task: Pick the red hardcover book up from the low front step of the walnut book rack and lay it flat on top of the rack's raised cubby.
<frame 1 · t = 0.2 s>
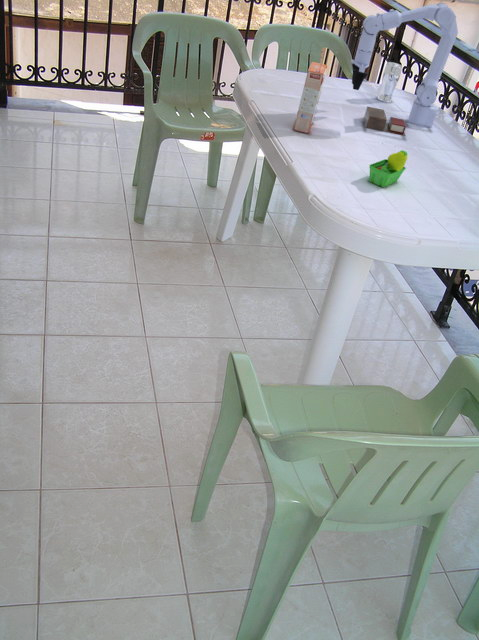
hand: (355, 86, 262), 10 cm above the table, tool pointing down, fingers open, 7 cm apart
red hardcover book: (395, 129, 255), point 1 cm above the table, touching book rack
cracker box: (303, 127, 243), on the table
book rack: (383, 130, 256), on the table
beer glass: (384, 100, 293), on the table
fruit basket: (384, 183, 212), on the table
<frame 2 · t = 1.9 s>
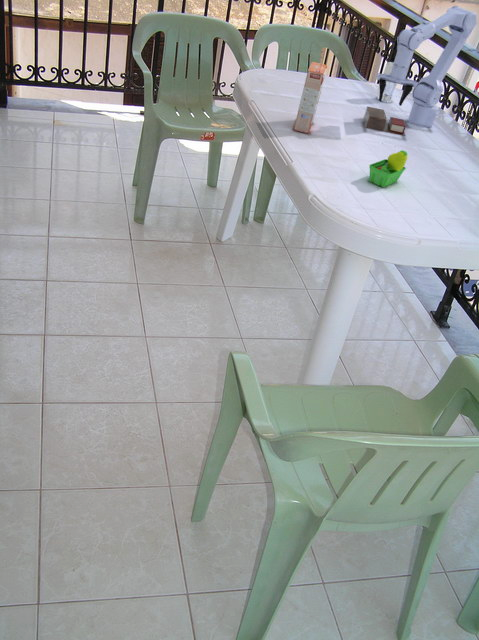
hand: (389, 102, 254), 10 cm above the table, tool pointing down, fingers open, 7 cm apart
nothing on the table moved.
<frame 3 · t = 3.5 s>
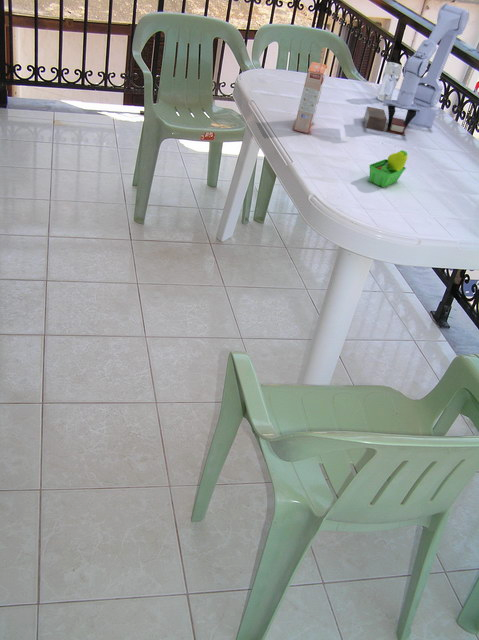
hand: (396, 127, 255), 2 cm above the table, tool pointing down, fingers closed on red hardcover book, 5 cm apart
red hardcover book: (395, 129, 255), point 2 cm above the table, touching book rack, gripper
everything else where it was.
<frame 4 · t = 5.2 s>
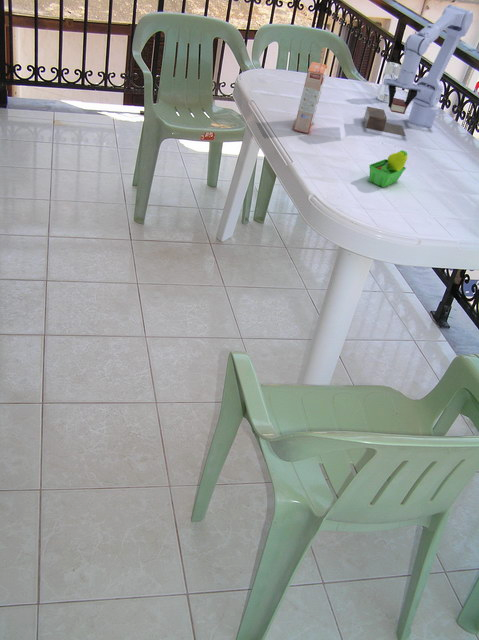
hand: (396, 108, 251), 9 cm above the table, tool pointing down, fingers closed on red hardcover book, 5 cm apart
red hardcover book: (396, 109, 251), point 9 cm above the table, touching gripper
everything else where it was.
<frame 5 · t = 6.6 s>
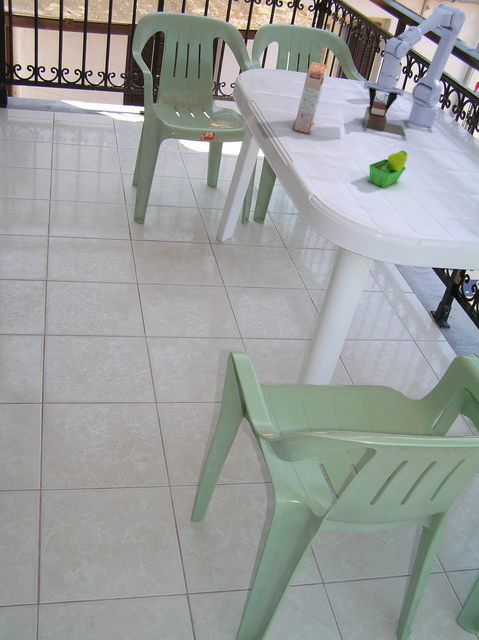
hand: (377, 111, 252), 7 cm above the table, tool pointing down, fingers closed on red hardcover book, 5 cm apart
red hardcover book: (377, 112, 252), point 6 cm above the table, touching gripper
everything else where it was.
when the fingers open (6 cm above the table, at t = 7.1 s): red hardcover book stays where it is, resting on book rack.
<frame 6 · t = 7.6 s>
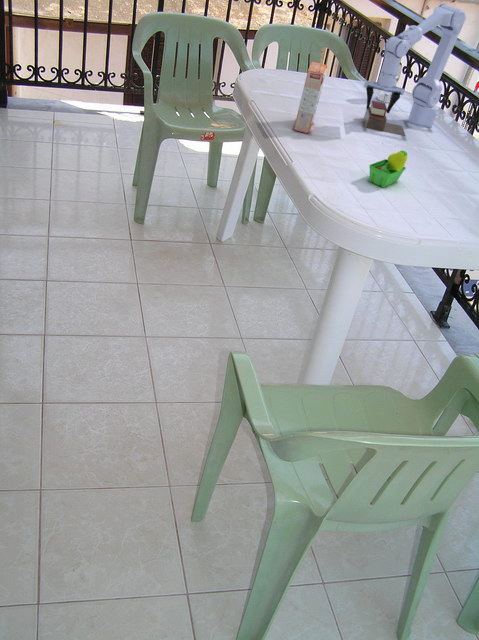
hand: (377, 110, 252), 7 cm above the table, tool pointing down, fingers open, 7 cm apart
red hardcover book: (376, 112, 252), point 6 cm above the table, touching book rack
everything else where it was.
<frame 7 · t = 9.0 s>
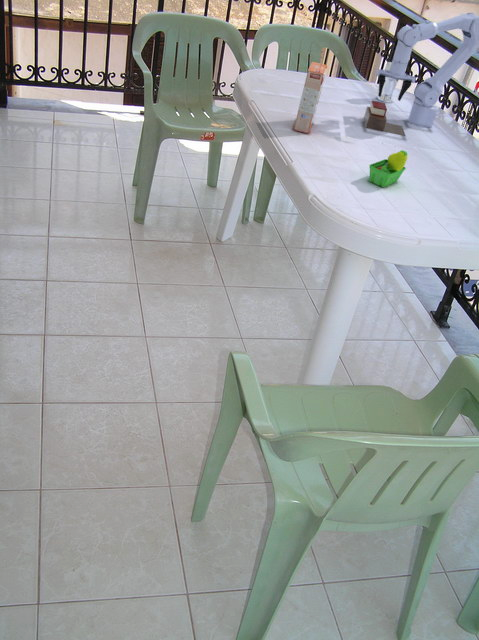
hand: (389, 98, 260), 9 cm above the table, tool pointing down, fingers open, 7 cm apart
nothing on the table moved.
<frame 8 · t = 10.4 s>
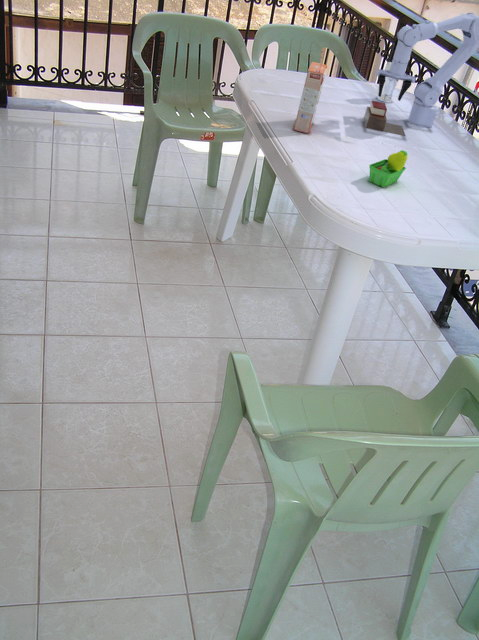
hand: (389, 97, 260), 9 cm above the table, tool pointing down, fingers open, 7 cm apart
nothing on the table moved.
at the end: red hardcover book inside the target area on the book rack (0.0 cm from its centre), point 6.0 cm above the book rack's base; red hardcover book tilted 0°; the gripper is holding nothing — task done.
